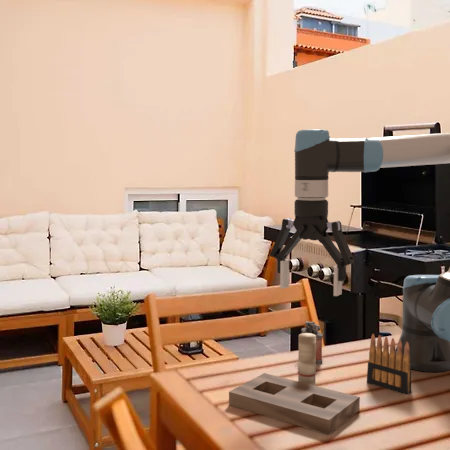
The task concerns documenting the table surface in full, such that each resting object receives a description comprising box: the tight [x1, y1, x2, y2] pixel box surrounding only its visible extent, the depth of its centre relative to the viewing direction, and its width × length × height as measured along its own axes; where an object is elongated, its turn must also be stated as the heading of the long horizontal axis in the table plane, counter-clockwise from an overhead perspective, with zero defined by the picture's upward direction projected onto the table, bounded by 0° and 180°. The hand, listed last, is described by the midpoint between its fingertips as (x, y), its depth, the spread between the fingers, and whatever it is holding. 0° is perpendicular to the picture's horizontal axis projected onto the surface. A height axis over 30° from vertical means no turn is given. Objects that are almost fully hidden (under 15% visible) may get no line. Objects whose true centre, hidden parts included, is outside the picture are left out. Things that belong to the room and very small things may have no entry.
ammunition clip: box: [366, 333, 412, 396], centre depth 140 cm, size 11×2×12 cm, turn 44°
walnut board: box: [228, 372, 361, 436], centre depth 129 cm, size 14×24×3 cm, turn 53°
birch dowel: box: [297, 332, 317, 386], centre depth 141 cm, size 4×4×12 cm
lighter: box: [301, 320, 324, 365], centre depth 160 cm, size 8×3×10 cm, turn 23°
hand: (310, 291), depth 138 cm, fingers open, 13 cm apart
